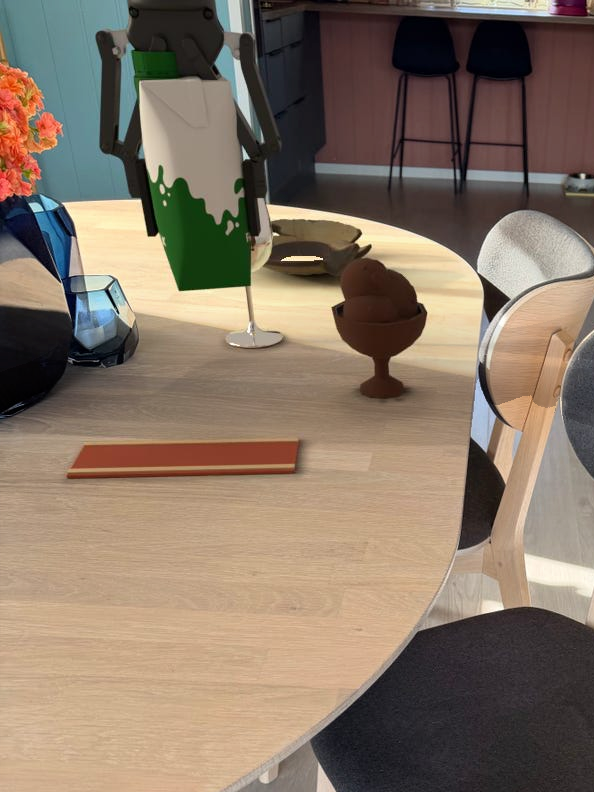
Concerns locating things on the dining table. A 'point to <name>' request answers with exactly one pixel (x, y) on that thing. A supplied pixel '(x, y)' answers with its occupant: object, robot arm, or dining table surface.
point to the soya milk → (194, 173)
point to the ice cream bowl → (378, 320)
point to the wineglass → (259, 257)
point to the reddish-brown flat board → (185, 457)
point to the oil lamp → (314, 246)
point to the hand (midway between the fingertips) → (205, 233)
